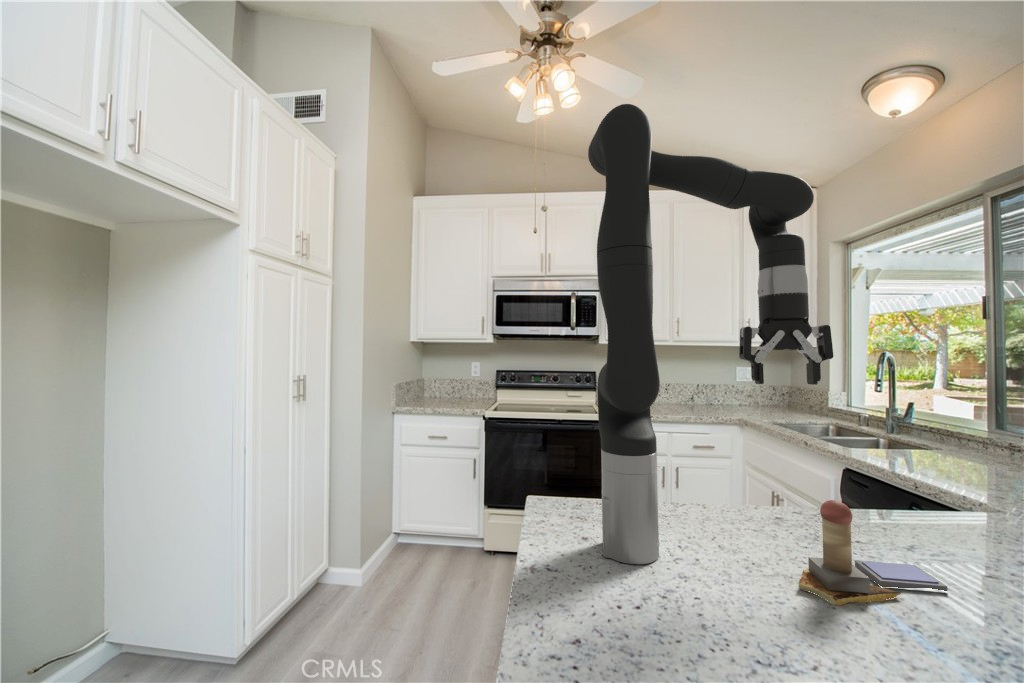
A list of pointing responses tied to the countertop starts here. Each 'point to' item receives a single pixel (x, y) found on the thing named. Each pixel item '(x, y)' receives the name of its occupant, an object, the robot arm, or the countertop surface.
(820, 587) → the brown flat slab
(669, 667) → the countertop surface
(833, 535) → the stamp
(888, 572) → the ink pad
